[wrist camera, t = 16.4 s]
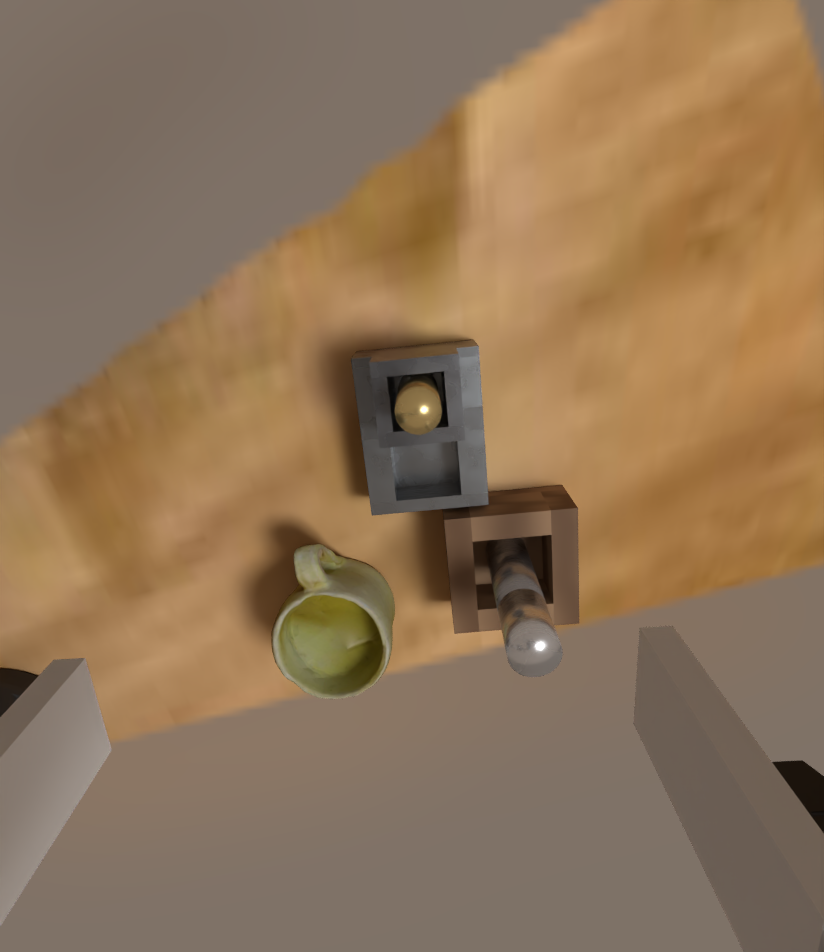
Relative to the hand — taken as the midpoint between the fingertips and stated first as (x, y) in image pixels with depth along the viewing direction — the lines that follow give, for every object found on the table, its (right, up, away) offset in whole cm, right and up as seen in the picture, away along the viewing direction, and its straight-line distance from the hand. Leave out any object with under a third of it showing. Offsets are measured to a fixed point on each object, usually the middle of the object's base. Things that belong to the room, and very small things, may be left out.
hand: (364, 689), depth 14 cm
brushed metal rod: (+9, -1, +36) cm, 37 cm away
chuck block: (+2, +9, +33) cm, 35 cm away
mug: (-5, -4, +38) cm, 39 cm away
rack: (+9, -1, +37) cm, 38 cm away
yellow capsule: (+2, +11, +28) cm, 30 cm away
